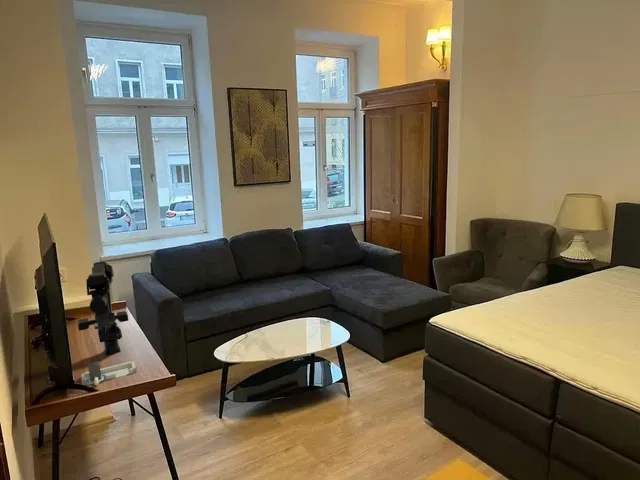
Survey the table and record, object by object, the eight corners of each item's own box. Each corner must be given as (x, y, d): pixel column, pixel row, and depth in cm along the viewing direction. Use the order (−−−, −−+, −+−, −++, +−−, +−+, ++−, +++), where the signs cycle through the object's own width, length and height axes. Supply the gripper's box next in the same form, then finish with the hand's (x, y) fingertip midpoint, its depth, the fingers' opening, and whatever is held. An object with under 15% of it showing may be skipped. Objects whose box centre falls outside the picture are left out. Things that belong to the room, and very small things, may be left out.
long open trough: (81, 378, 188) (80, 371, 187) (134, 365, 197) (133, 358, 196) (82, 387, 180) (81, 380, 180) (136, 373, 190) (135, 366, 189)
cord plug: (90, 377, 187) (87, 363, 186) (101, 374, 189) (98, 361, 188) (91, 388, 179) (89, 374, 178) (102, 385, 181) (100, 371, 179)
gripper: (75, 315, 179) (82, 352, 182) (127, 305, 187) (132, 341, 191) (75, 306, 188) (81, 342, 192) (124, 297, 197) (129, 331, 200)
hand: (106, 339), depth 193 cm, fingers closed
